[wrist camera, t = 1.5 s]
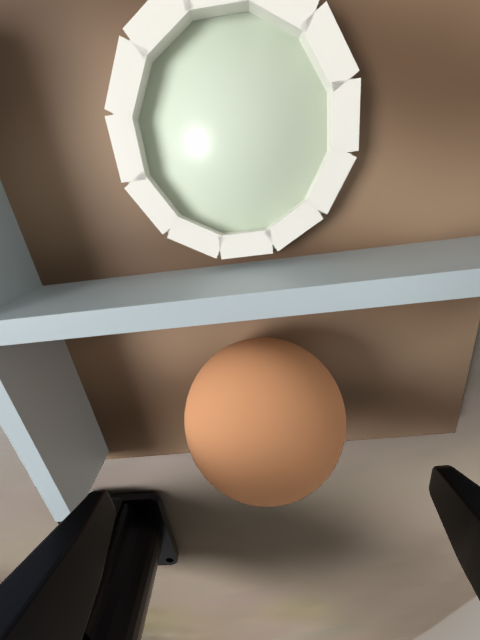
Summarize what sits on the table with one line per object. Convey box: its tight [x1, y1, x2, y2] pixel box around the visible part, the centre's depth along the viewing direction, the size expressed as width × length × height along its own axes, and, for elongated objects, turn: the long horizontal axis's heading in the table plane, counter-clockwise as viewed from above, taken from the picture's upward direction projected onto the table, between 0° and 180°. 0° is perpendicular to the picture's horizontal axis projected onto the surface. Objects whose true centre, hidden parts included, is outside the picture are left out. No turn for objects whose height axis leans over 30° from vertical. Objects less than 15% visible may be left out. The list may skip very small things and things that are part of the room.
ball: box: [184, 337, 346, 507], centre depth 11 cm, size 6×6×6 cm
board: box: [0, 0, 480, 522], centre depth 11 cm, size 18×18×4 cm
